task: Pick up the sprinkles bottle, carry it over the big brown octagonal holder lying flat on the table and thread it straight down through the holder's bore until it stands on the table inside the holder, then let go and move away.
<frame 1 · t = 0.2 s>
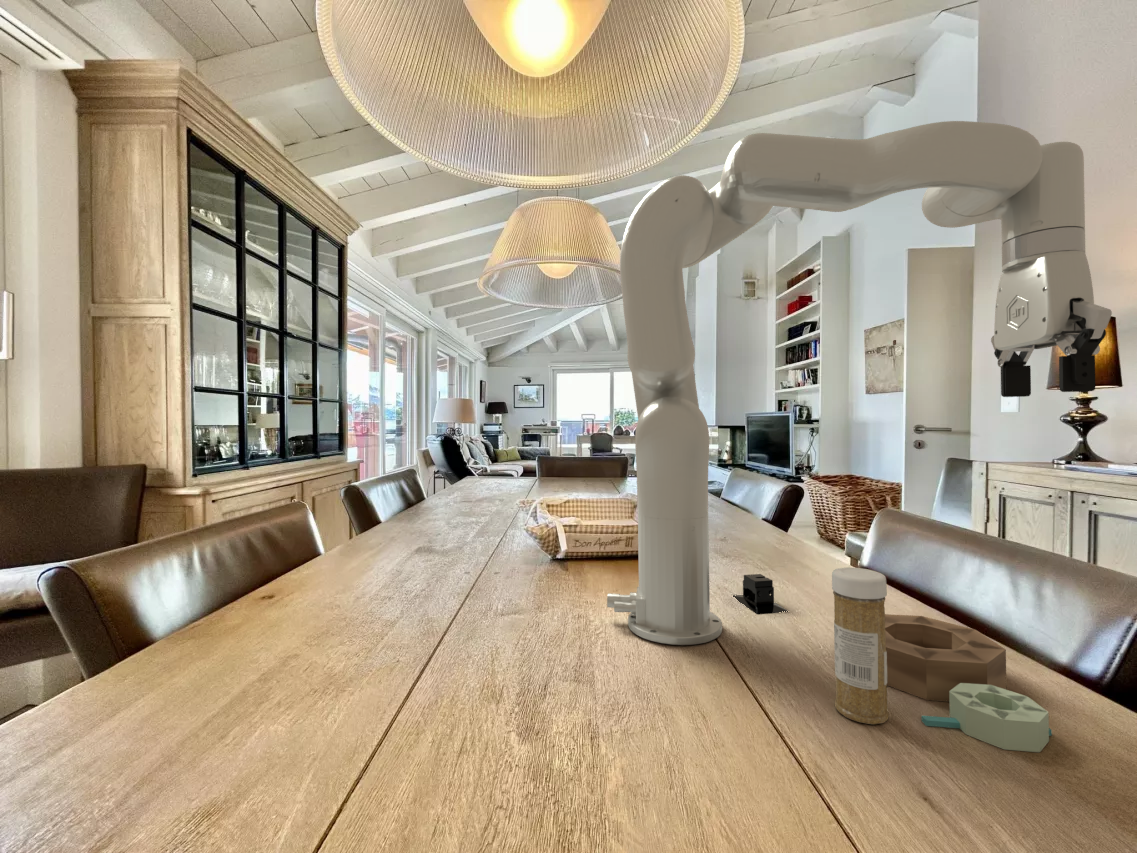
hand: (1044, 394, 63), 31 cm above the table, tool pointing down, fingers open, 9 cm apart
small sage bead: (997, 729, 47), on the table
sprinkles bottle: (860, 715, 50), on the table
teal bar: (984, 728, 47), resting in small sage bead
brown octagonal holder: (924, 671, 58), on the table
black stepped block: (758, 608, 81), on the table
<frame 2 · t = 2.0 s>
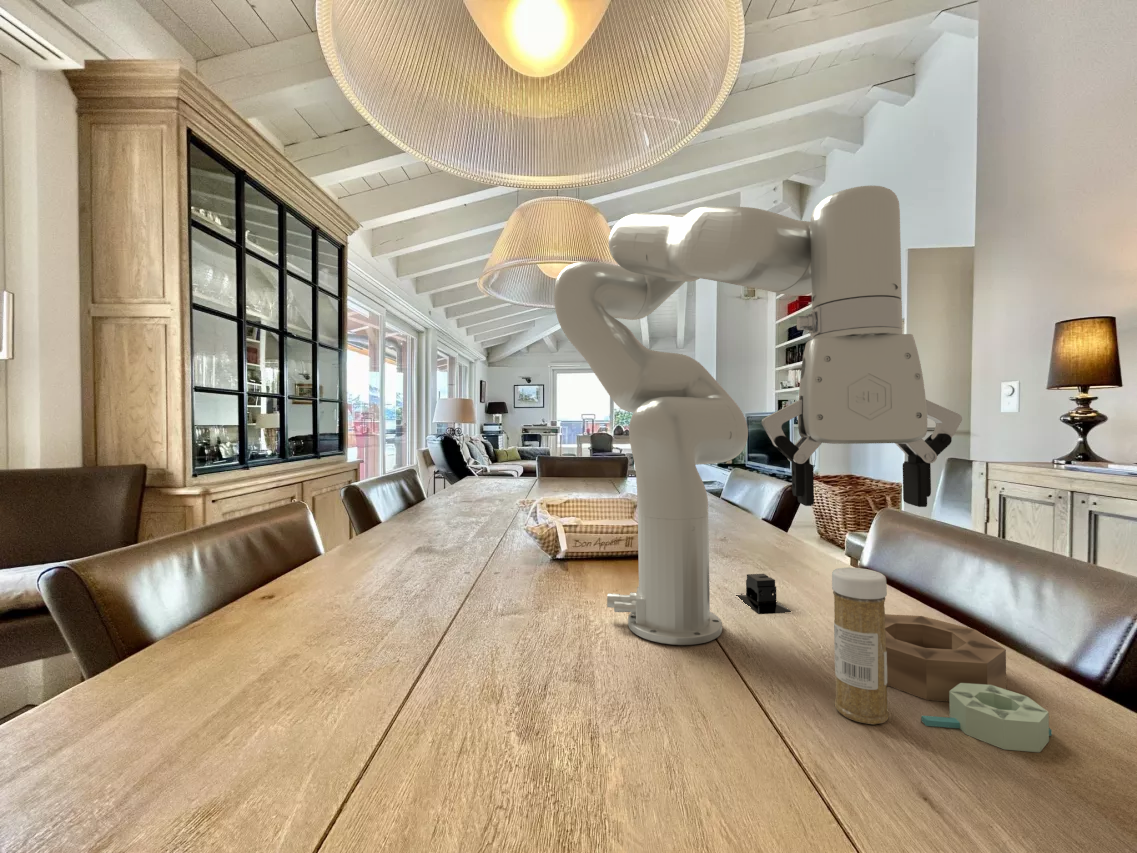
hand: (859, 504, 50), 20 cm above the table, tool pointing down, fingers open, 9 cm apart
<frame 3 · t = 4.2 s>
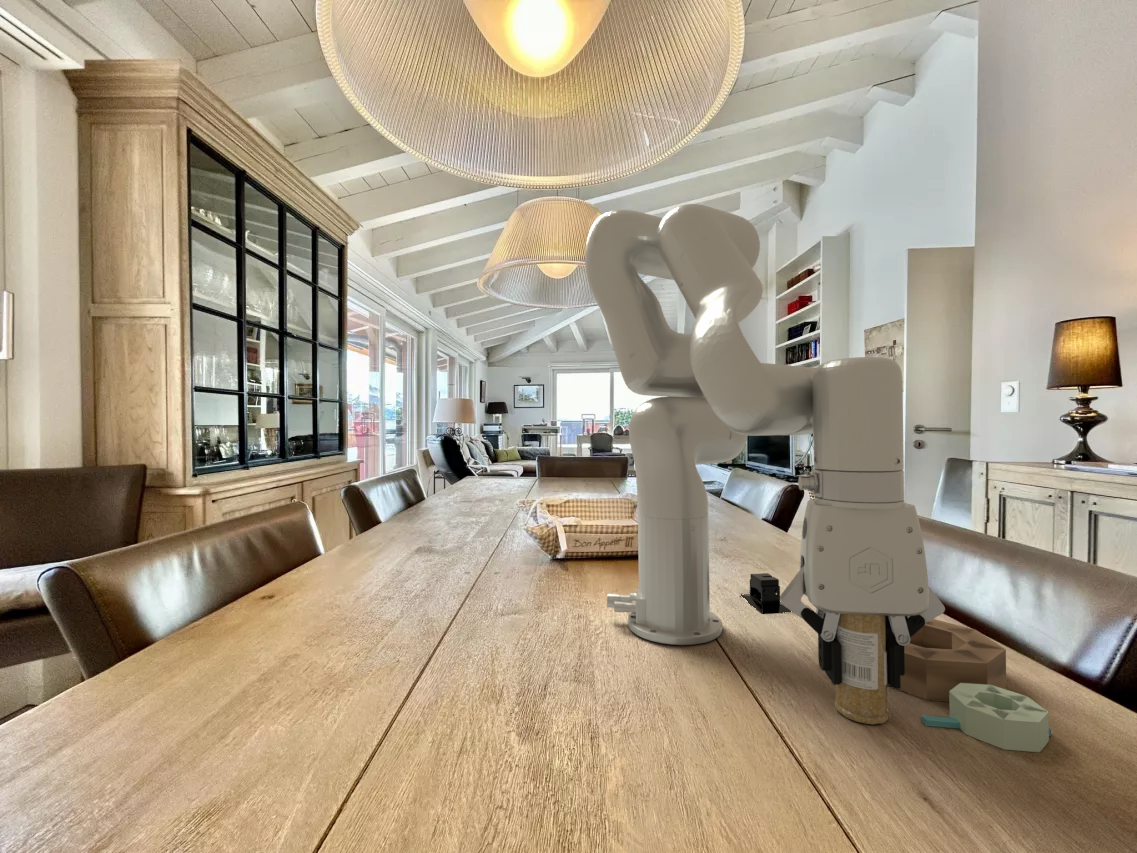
hand: (860, 677, 50), 3 cm above the table, tool pointing down, fingers closed on sprinkles bottle, 4 cm apart
sprinkles bottle: (860, 715, 50), on the table, touching gripper
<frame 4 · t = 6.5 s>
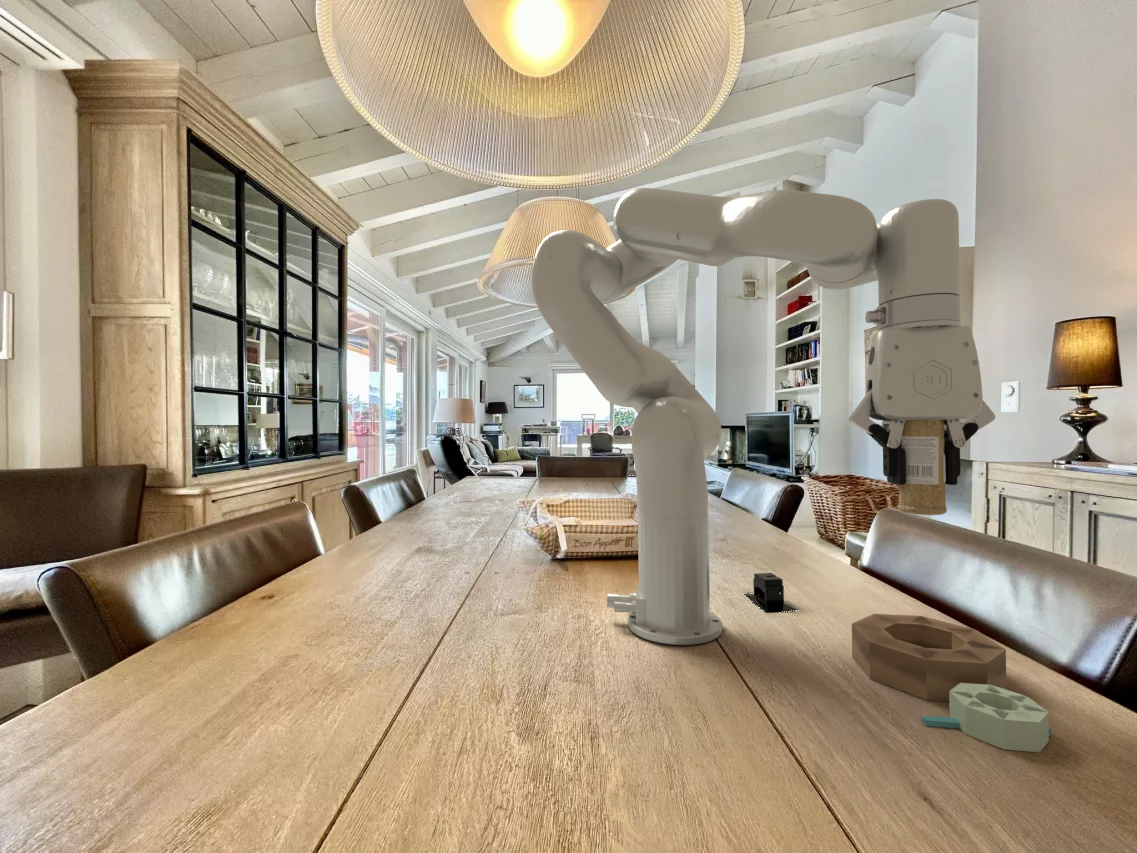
hand: (921, 481, 58), 21 cm above the table, tool pointing down, fingers closed on sprinkles bottle, 4 cm apart
sprinkles bottle: (921, 514, 58), point 18 cm above the table, touching gripper
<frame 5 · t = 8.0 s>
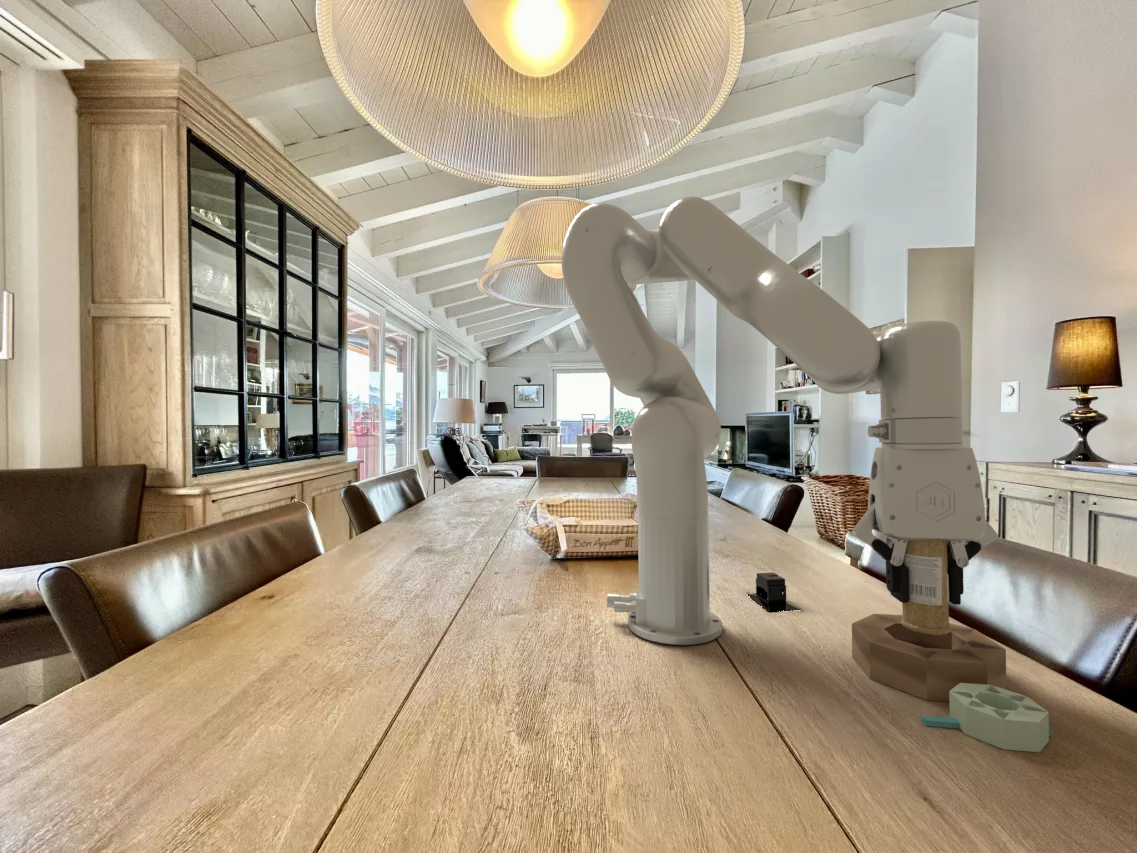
hand: (924, 597, 58), 8 cm above the table, tool pointing down, fingers closed on sprinkles bottle, 4 cm apart
sprinkles bottle: (924, 630, 58), point 5 cm above the table, touching gripper
when the fingers open (5 cm above the table, at t = 9.0 s): sprinkles bottle drops 1 cm, resting in brown octagonal holder.
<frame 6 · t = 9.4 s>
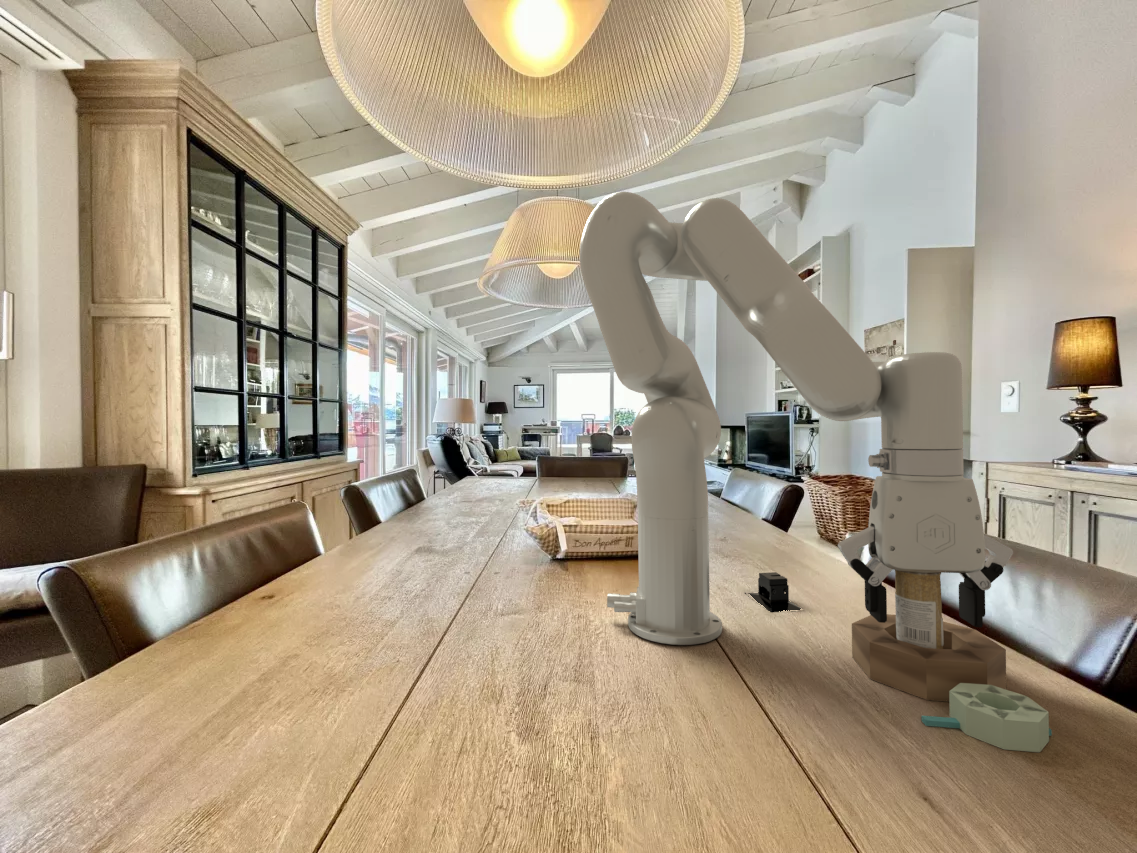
hand: (923, 620, 58), 6 cm above the table, tool pointing down, fingers open, 9 cm apart
sprinkles bottle: (919, 673, 58), resting in brown octagonal holder
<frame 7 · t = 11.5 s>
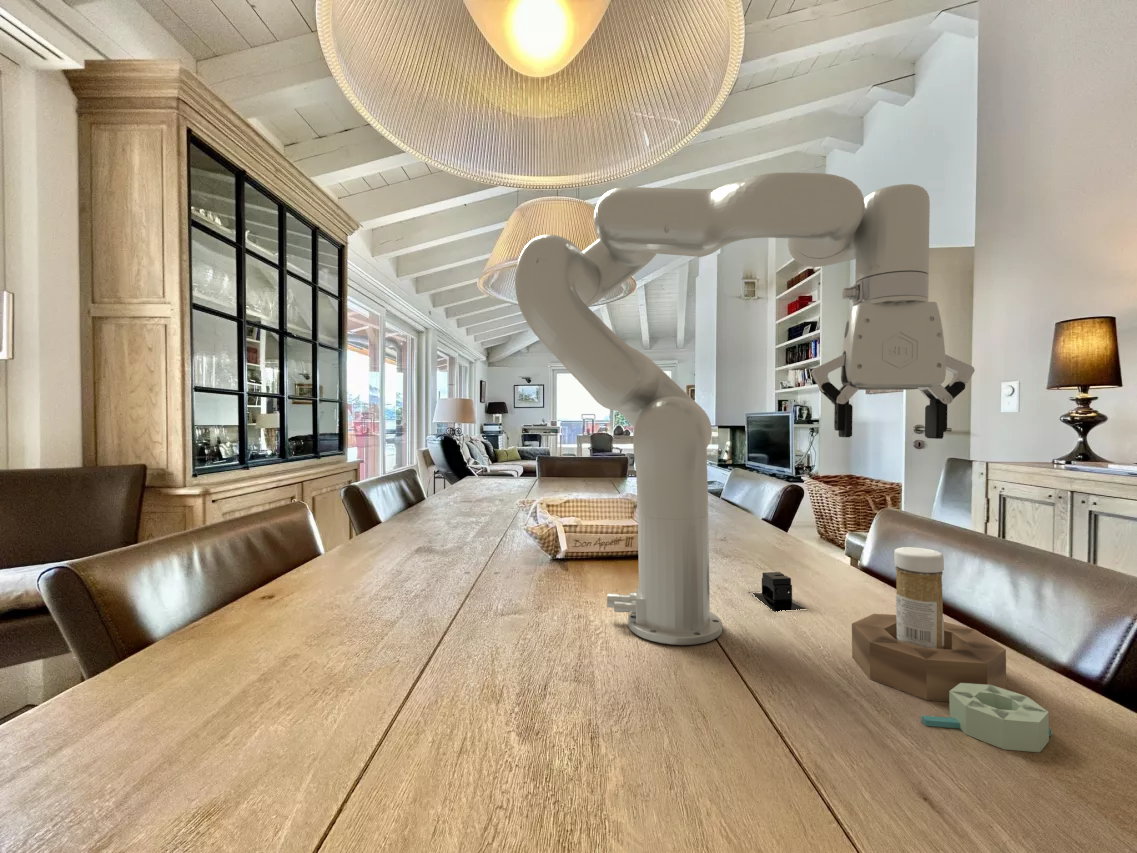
hand: (888, 437, 63), 26 cm above the table, tool pointing down, fingers open, 9 cm apart
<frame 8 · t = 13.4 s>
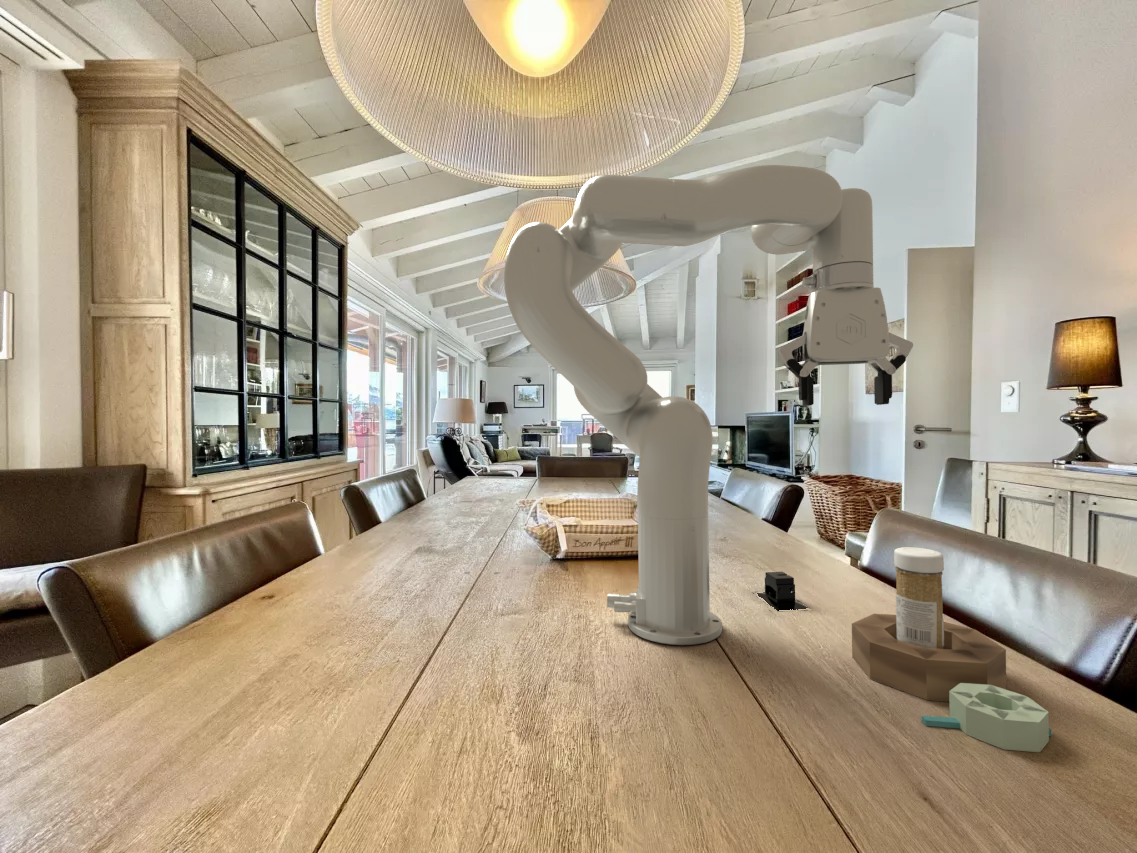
hand: (844, 405, 73), 30 cm above the table, tool pointing down, fingers open, 9 cm apart
at the end: sprinkles bottle 0.5 cm off-centre on the brown octagonal holder, point 0.0 cm above the brown octagonal holder's base; sprinkles bottle tilted 0°; the gripper is holding nothing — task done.
